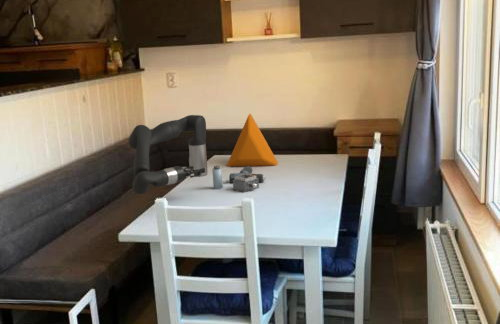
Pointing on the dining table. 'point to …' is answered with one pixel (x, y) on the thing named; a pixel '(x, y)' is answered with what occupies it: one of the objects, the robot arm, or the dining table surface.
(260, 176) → the power drill
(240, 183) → the grey metal open box
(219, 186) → the capped canister
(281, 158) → the dining table surface
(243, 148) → the decorative object
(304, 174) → the dining table surface
